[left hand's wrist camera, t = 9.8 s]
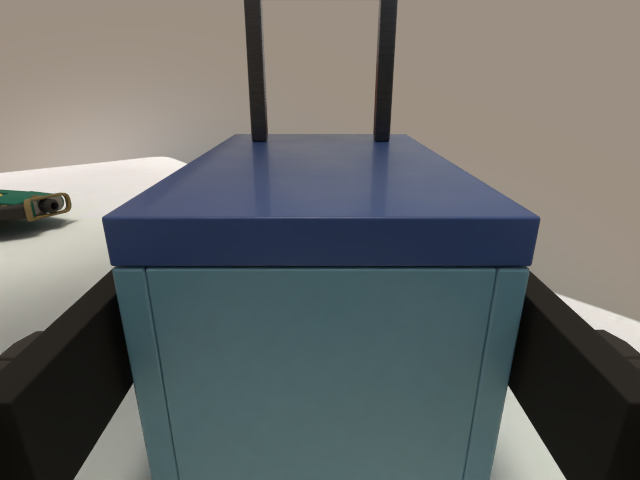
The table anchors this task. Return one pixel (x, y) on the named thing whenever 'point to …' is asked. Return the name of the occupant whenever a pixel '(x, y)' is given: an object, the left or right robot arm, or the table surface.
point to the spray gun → (31, 204)
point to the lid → (320, 195)
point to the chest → (320, 369)
